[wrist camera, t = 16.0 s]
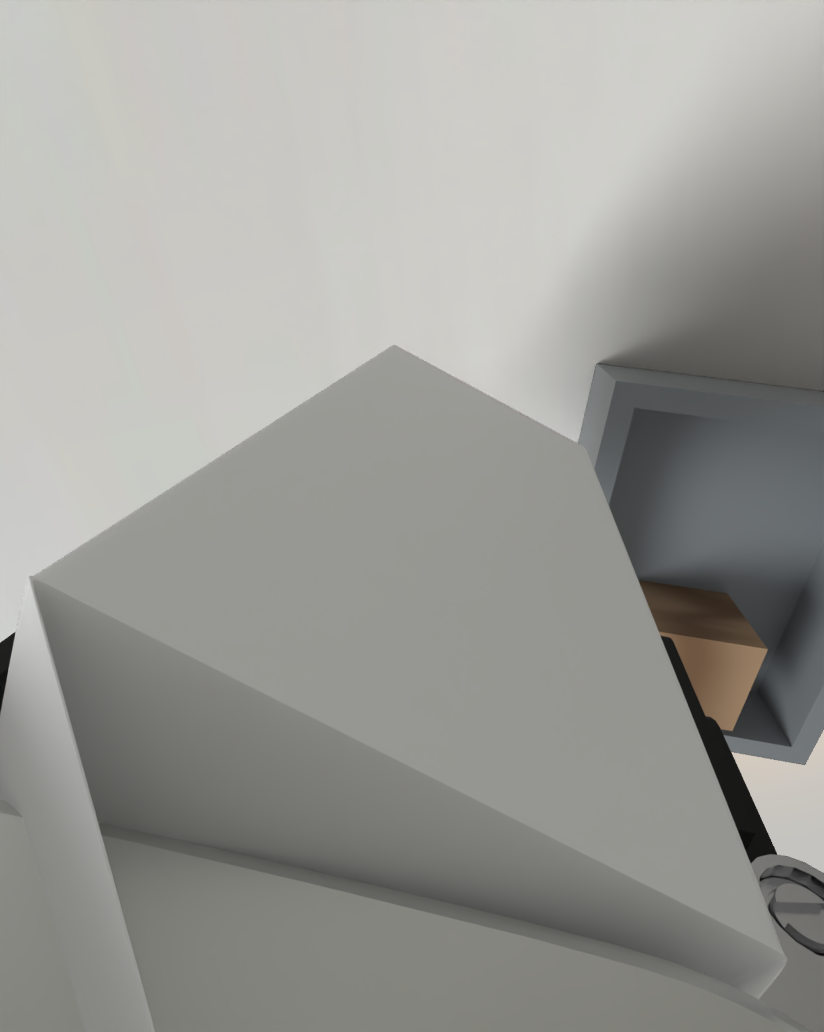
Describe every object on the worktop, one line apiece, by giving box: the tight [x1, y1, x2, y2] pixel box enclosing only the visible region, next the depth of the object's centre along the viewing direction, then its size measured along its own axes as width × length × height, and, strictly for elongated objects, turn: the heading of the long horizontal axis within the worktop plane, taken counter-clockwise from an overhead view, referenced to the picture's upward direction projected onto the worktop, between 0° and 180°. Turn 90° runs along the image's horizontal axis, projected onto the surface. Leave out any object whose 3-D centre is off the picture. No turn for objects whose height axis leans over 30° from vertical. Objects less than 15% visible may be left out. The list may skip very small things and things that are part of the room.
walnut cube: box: [638, 580, 768, 731], centre depth 29 cm, size 5×5×5 cm
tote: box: [578, 364, 824, 765], centre depth 28 cm, size 14×18×5 cm
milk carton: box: [0, 345, 787, 1032], centre depth 11 cm, size 7×7×19 cm
